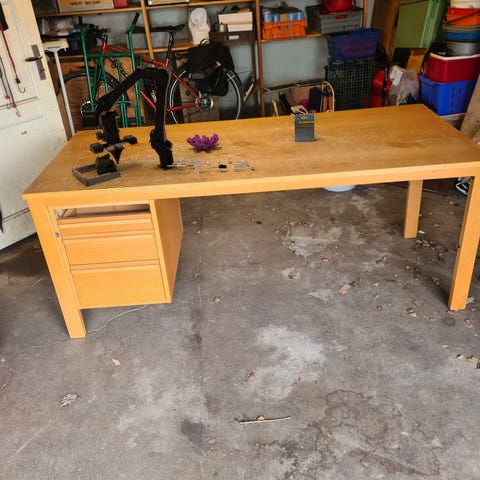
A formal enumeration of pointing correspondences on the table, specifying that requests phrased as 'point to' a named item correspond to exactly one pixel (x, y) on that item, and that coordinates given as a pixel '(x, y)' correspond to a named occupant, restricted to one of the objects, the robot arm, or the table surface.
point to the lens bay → (97, 179)
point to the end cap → (105, 164)
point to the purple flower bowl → (203, 141)
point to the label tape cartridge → (304, 128)
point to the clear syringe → (196, 163)
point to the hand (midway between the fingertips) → (117, 163)
